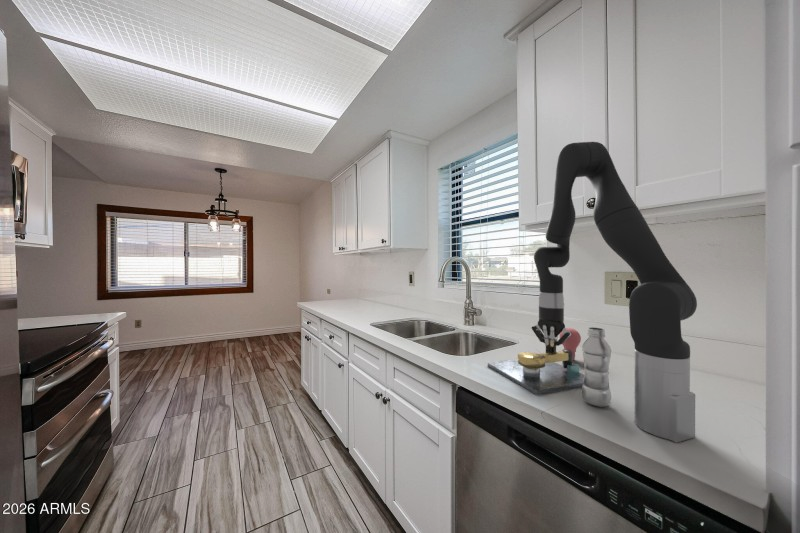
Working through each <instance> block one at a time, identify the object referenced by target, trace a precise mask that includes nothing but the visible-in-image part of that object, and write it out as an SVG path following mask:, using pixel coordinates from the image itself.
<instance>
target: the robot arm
mask: <svg viewBox="0 0 800 533" xmlns="http://www.w3.org/2000/svg"><path fill="white" fill-rule="evenodd" d="M582 177H583V178H584V177H585V178H587V179H588V181H589V182H590V184H591V186H592V188H593V190H594V193H595V202H594V208H593V220H594V221H593V222H594V223H595V225H596V227H597V229H598V231H599V234H600V235H601V237H602V239H603V240H604V242H605V243H606V244H607V245H608V247H609V248H610V249H611V250H612V251H613V252H615V254H616V255H617V256H619V257H620V258H621V259H622V260H623V261H624V262H625V264H627V265H628V267H630V268H631V269H632V271H633V272H634V274H635V275H636V277H637V279H638V281H639V283H640V284H639V285H637V286H636V287H634V289H633V290H632V291H631V293H630V296H629V300H628V302H629V303H628V312H629V313H628V314H629V329H630V330H629V331H630V337H631V338H632V341H633V343H634V423H635V424H636V426H637V427H638V428H640V429H641V430H643V431H644V432H646V433H649V434H651V435H654V436H655V437H656V436H657V437H659V438H662V439H667V440H669V441H672V442H674V443H680V442H683V441H688V440H690V439H695V438H696V393H694V392H692V391H691V346H690V344H689V343H688V342H687V341H685V340H684V339H683V337H682V326H681V325H682V324H681V322H682V321H685V320H686V319H689V318H690V317H692V316H693V315H694V314H695V312H696V310H697V307H698V301H697V297H696V295H695V293H694V291H693V290H692V289H691V287H690V285H689V284H688V283H687V282H686V281H685V279H684V278H683V277H682V276H681V275H680V273H679V271H678V270H677V269H676V268H675V267H674V265H673V264H672V263H671V261H670V260H669V259H668V257H667V256H666V253H664V251H663V248H662V246H661V245H660V244H659V242H658V240H657V238H656V236H655V234H654V233H653V231H652V230H651V229H650V227H649V224H648V223H647V221H646V219H645V217H644V216H643V214H642V212H641V211H640V209H639V208H638V205H636V203H635V201H634V200H633V199H632V198H633V197H631V195H630V193H629V192H628V190H627V188H626V186H625V184H624V183H623V181H622V179H621V177H620V175H619V174H618V172H617V169H616V166H615V164H614V162H613V159H612V157H611V155H610V152H609V151H608V149H607V147H606V146H605V145H604V144H602V143H601V142H599V141H583V142H571V143H568V144H566V145H565V146H564V147H563V148H562V150H560V152H559V155H558V157H557V161H556V168H555V179H554V187H553V197H552V198H553V200H552V209H551V213H550V218H549V220H548V225H547V228H546V232H545V239H546V241H548V242H549V243H551V244H554V245H556V246H540V247H538V248H537V249H536V250H535V251H534V254H533V261H534V264H535V267H536V270H537V275H538V280H539V296H538V321H537V323H536V324H534V326H531V330H532V332H533V333H534V334H535V336H536V337H537V338H538V340H539V342H541V343H543V344H544V345H545V353H549V352H557V346H558V347H559V346H561V345H562V344H563V343H564V342H565V341H566V340H567V339H568V338H569V337H570V336H571V335H572V332H571V331H568V330H567V329H566V325H565V320H564V319H565V311H564V310H565V299H564V279H563V277H562V275H560V274H554V273H552V272H551V270H550V268H563V267H565V266H566V265H567V264H569V261H570V258H571V257H570V255H571V254H570V242H571V241H570V240H571V235H572V233H573V229H574V226H575V222H576V210H575V205H574V202H573V197H572V196H573V195H572V190H573V186H574V184H575V181H576V178H582ZM562 331H563V333H562V335H563V336H562V337H561V338H559V335H560V333H561V332H562Z"/></svg>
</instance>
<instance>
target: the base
mask: <svg viewBox="0 0 800 533" xmlns="http://www.w3.org/2000/svg"><path fill="white" fill-rule="evenodd" d="M487 367H488V368H489V369H491V370H493V371H495V372H497V373H499V374H500V375H502V376H504V377H505V378H507V379H509V380H510V381H512V382H514V383H516V384H517V385H519V386H520V387H523V388H524V389H526V390H528V391H530V392H531V393H533V394H534V395H536V396H540V395H545V394H551V393H557V392H561V391H562V392H563V391H567V390H573V389H578V388H582V386H583V383H584V373H582V372H580V364H577V363H573V364H570V365H567V368H564V367H562V364H559V363H558V362H552V363H545V367H543V368H529V367H525V366H522V365H520V364H518V358H515V359H507V360H500V361H494V362H492V361H491V362H487Z"/></svg>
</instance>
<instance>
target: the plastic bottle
mask: <svg viewBox="0 0 800 533" xmlns="http://www.w3.org/2000/svg"><path fill="white" fill-rule="evenodd" d="M587 331H588V332H587V336H588V337H587V338H586V340H585V341H584V342H583V344H582V346H581V348H582V350H581V352H582V355H583V356H582V357H583V365H584V369H583V370H584V372H583V374H584V383H583V386H582V387H581V396H582V398H583V401H584V402H585V403H587V404H589V405H591V406H595V407H599V408H603V407H608V406H609V404H611V401H612V392H611V388H610V387H611V386H610V379H609V373H610V372H609V371H610V363H611V357H612V349H611V346H610V344H609V343H608V342H607V341H606V340H605V337H606V332H605V329H604V328H602V327H593V326H592V327H588V328H587Z"/></svg>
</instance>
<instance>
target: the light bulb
mask: <svg viewBox="0 0 800 533" xmlns="http://www.w3.org/2000/svg"><path fill="white" fill-rule="evenodd" d="M565 328H566V327H565ZM566 329H567V330H568V331H571V332H572V335H571V336H570V337H569V338H568V339H567V340H566V341H565V342H564V343H563V344H561V345H562V346H563V350H564V349H567V350H571V351H573V360H575V359H576V352H577V348H578V347H579V345H580V343H581V342H582V341H581V340H582V337H581V334H580V332H579V331H578V330H576V329H574V328H571V327H567V328H566ZM562 333H563V331H562V332H561V333H560V334H559V335H558V339H560V338H561V337H562V336H563V335H562Z"/></svg>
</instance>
